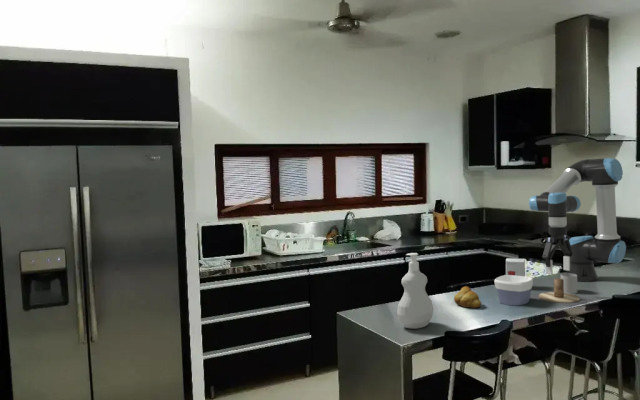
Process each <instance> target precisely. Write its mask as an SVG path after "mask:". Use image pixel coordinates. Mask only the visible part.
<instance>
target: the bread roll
mask: <svg viewBox="0 0 640 400" xmlns="http://www.w3.org/2000/svg"><path fill="white" fill-rule="evenodd" d="M453 301H454V302H455V304H456V305H458V306H461V307H463V308H473V309H474V308H480V307H481V304H482V301H481V300H480V297H479V295H478V294H477V293H476V292H475V291H473V290H472V289H471V288H470V287H469V286H467V285H465V286H463V287H461V288H460V291H458V292H457V293H456V294H455V295H454V299H453Z"/></svg>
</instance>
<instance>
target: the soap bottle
mask: <svg viewBox="0 0 640 400" xmlns="http://www.w3.org/2000/svg"><path fill="white" fill-rule="evenodd" d="M405 256H410V262H408V272H407V273H405V275H404V276H403V277H402V279H401V285H402V287H403V289H404V290H403V291H404V292H403V294H402V297H401V299H400V300H399V302H398V304H397V312H396V314H397V317H398V321H399V323H400V324H401V325H402V326H403V327H404V328H406V329H413V330H414V329H415V330H416V329H417V330H418V329H422V328H424V327H426V326H428V325H429V324H430V321H431V320H432V319H433V314H434V306H433V300H432V299H431V298H430V297H429V295H428V293H427V291H426V285H427V283H428V278H427V276H426V275H425V274H424V273H422V272H421V271H420V263H419V261H417V260H418V259H417V256H419V253H417V252H410V253H406V254H405Z"/></svg>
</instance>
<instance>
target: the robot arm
mask: <svg viewBox="0 0 640 400" xmlns="http://www.w3.org/2000/svg"><path fill="white" fill-rule="evenodd" d="M623 175H624V173H623V166H622V164H621V162H620V161H619V160H618V159H616V158H613V157H612V158H609V157H604V158H592V159H591V158H590V159H589V158H588V159H586V158H585V159H581V160H580V161H576V162H575V163H573V164H571V165H570V166H568V167H566V168H565V169H564V170H563V172H562V173H561V176H559V177H558V178H557V179H556V180H555V181H554V182H553V183H552V184H551V185H549V186H548V187H547V188H546V189H545V190H544V191H542V192H541V193H540V195H532V196H531V197H530V198H529V200H528V205H529V208H530V210H531V211H534V212H548V226H549V227H548V234H549V236H550V237H546V239H545V240H546V241H545V244H544V245H545V246H544V250H543V254H542V256H541V258H542V259H543V260H545V274H547V275H553V273H554V271H553V269H554V267H553V259H552V258H553V256H554V253H555V251H556V250H557V249H558V248H560V250H561V251H562V253H563V255H564V256H562V257H563V258H562V259H563V262H562V263H563V271H566V272H565V273H570V274H576V275H577V282H595V281H598V273H597V270H596V268H595V265H594V262H599V263H609V264H620V263H621V262H622V261H623V259H624V258H625V256H626V250H627V245H626V242H625V241H624V240H622V239H621V235H619V234H618V230H617V210H616V209H617V208H616V207H617V206H616V204H617V203H616V187H617V186H618V185H619V182H620V181H622V179H623ZM583 182H591V186H592V187H593V188H595V204H596V222H597V223H596V225H597V234H596V235H595V236H593V235H581V236H573V237H572V236H571V237H570V236H569V235H567V234H568V227H567V226H568V224H567V223H568V222H567V220H568V219H567V217H568V216H567V213H570V212H571V213H573V212H576V211H578V210H579V209H580V207H581V204H582V203H581V200H580V198H579V197H578V196H575V195H567V194H566V193H567V192H568V191H569V190H571V188H572V187H574V186H576V185H578V184H580V183H583Z"/></svg>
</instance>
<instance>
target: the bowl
mask: <svg viewBox="0 0 640 400" xmlns="http://www.w3.org/2000/svg"><path fill="white" fill-rule="evenodd" d="M493 281H494V286H495V289H496V292H497V297H498V301H499V303H500V304H502V305H507V306H514V307H519V306H522V305H527V304H529V302H530V299H531V298H530V296H531V292H532V290H533V289H532V288H533V285H534V278H532V277H529V276H525V277H524V276H515V275H506V274H504V275H500V276H498V277H496V278H495V279H494V280H493Z"/></svg>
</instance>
